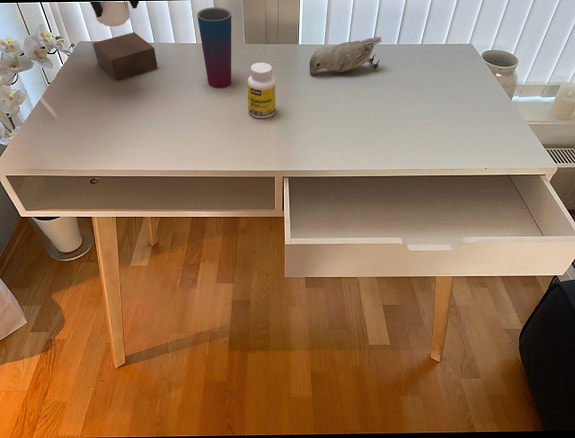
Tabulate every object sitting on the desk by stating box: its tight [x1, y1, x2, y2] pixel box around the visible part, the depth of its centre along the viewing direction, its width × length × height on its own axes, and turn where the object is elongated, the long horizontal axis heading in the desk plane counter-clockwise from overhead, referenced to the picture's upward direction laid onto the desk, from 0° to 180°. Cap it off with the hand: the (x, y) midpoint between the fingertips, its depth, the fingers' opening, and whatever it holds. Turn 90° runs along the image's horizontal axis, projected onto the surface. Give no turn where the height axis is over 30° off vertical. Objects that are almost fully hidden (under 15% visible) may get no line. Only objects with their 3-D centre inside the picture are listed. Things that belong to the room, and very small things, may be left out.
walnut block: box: [92, 31, 158, 82], centre depth 115 cm, size 10×10×5 cm
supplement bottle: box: [247, 62, 276, 119], centre depth 100 cm, size 5×5×10 cm
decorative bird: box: [309, 36, 382, 76], centre depth 114 cm, size 5×16×8 cm, turn 104°
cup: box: [196, 6, 232, 89], centre depth 107 cm, size 7×7×15 cm
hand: (118, 8), depth 93 cm, fingers closed on beverage can, 6 cm apart
